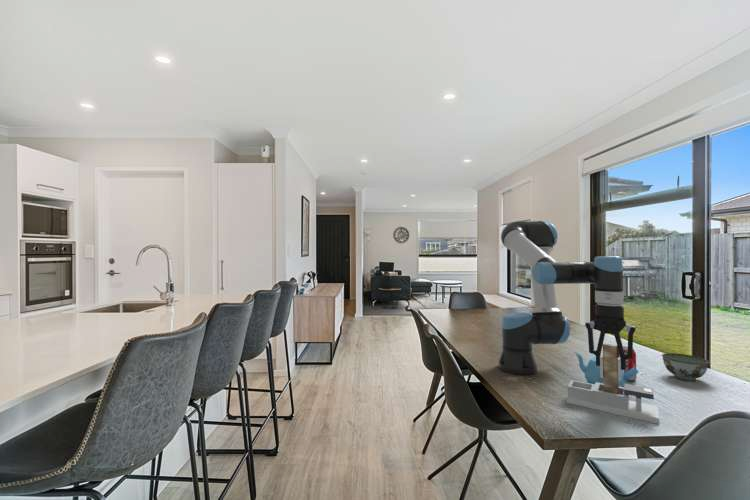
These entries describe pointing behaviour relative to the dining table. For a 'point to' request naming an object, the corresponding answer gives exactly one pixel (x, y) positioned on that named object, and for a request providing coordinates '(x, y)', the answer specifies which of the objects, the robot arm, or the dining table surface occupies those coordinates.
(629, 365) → the beverage can
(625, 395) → the grey slotted holder
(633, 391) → the plate
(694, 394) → the dining table surface
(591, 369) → the teapot
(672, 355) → the bowl
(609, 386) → the tan banded rod
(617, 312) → the robot arm
